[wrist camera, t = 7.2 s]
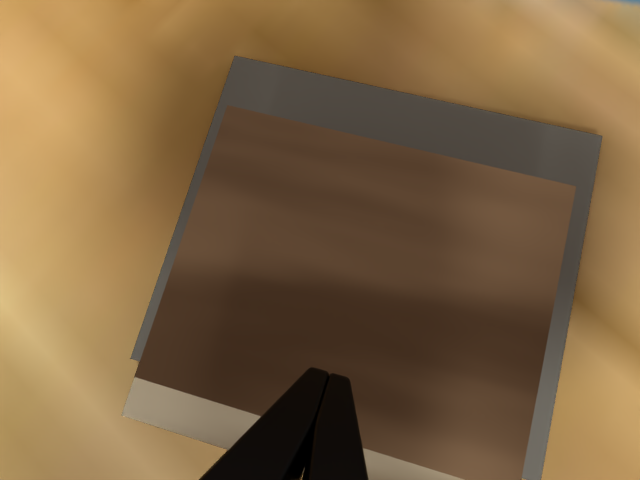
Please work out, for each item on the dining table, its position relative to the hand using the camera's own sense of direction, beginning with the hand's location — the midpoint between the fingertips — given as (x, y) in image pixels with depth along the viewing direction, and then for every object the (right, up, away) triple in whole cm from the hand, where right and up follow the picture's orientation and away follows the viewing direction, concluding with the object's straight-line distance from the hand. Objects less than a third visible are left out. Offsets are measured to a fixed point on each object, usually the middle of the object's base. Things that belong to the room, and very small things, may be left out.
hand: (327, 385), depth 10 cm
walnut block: (0, -3, +4) cm, 5 cm away
